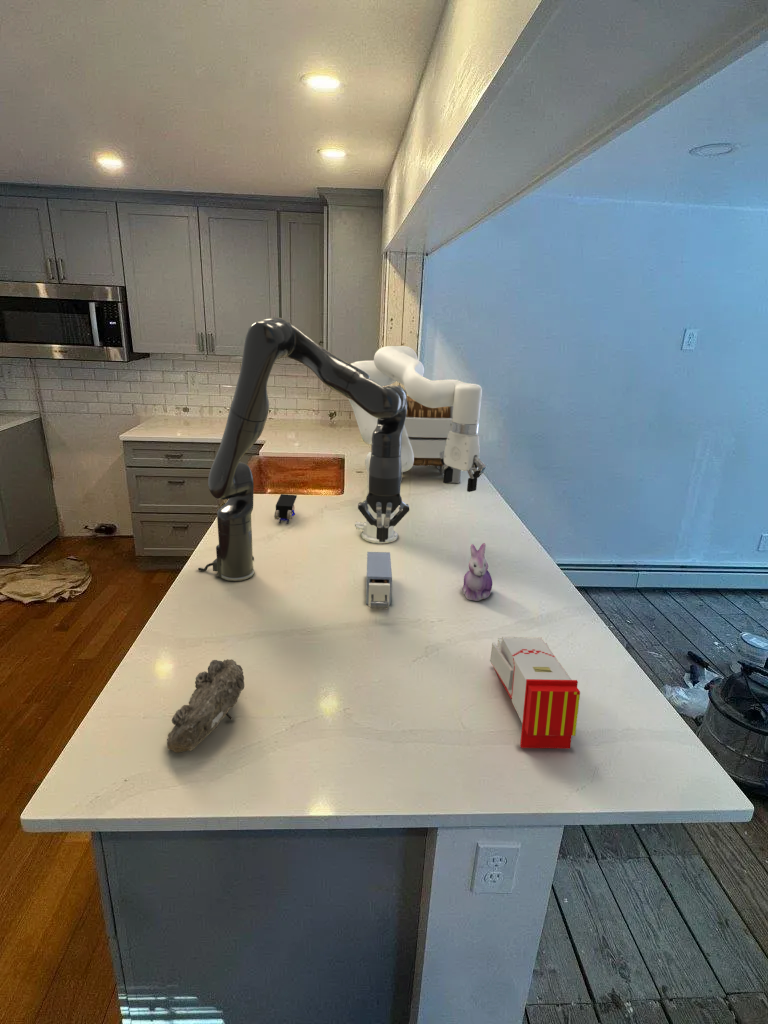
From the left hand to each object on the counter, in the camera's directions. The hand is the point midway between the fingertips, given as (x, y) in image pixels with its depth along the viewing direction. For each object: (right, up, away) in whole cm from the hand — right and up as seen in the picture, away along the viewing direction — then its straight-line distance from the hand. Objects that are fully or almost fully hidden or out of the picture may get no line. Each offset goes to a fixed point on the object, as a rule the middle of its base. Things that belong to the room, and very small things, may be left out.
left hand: (382, 540), depth 139 cm
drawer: (-1, -16, +14) cm, 21 cm away
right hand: (+22, +14, +26) cm, 37 cm away
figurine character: (-36, +4, +70) cm, 78 cm away
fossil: (-32, -32, -31) cm, 55 cm away
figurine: (+27, -16, +20) cm, 37 cm away
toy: (+30, -32, -23) cm, 49 cm away
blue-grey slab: (-1, -15, +20) cm, 25 cm away
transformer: (+18, +26, +136) cm, 139 cm away
